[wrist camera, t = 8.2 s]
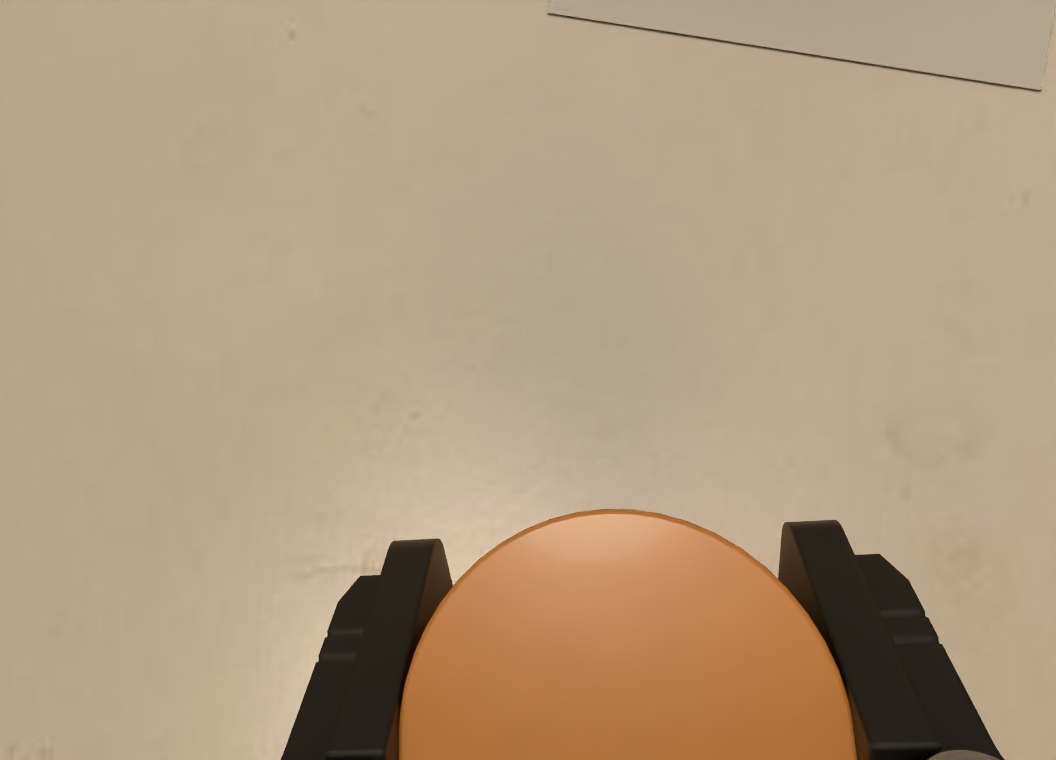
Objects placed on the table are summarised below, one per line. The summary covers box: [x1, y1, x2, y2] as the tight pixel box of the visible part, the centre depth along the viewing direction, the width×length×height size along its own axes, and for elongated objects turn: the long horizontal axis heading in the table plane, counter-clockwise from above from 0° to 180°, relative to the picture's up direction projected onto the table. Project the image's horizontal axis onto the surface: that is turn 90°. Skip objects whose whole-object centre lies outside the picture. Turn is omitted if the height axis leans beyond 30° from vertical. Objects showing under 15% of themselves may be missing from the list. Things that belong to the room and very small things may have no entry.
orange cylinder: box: [399, 509, 858, 760], centre depth 12 cm, size 5×5×8 cm
